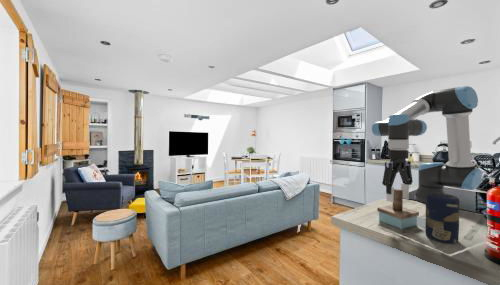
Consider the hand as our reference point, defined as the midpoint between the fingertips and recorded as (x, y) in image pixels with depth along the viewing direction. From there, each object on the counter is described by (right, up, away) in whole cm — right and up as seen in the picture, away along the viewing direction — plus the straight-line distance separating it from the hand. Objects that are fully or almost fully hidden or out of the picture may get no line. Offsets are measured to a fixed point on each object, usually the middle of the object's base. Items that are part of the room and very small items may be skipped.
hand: (397, 199), depth 97 cm
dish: (0, -11, 0) cm, 11 cm away
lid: (0, -6, 0) cm, 6 cm away
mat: (+11, -11, +2) cm, 16 cm away
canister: (+7, -12, -14) cm, 20 cm away
